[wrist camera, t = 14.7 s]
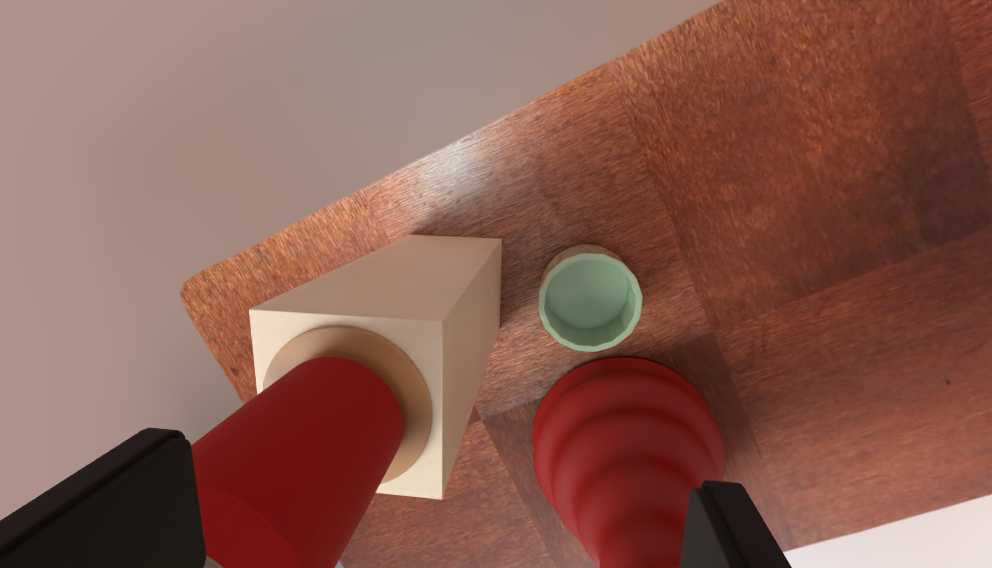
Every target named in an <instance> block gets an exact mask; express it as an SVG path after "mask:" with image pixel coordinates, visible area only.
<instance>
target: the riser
mask: <svg viewBox="0 0 992 568" xmlns="http://www.w3.org/2000/svg"><path fill="white" fill-rule="evenodd" d="M501 264H502V239H500V238H478V237H455V236H433V235H408V236H405V237H403V238H401V239H399V240H397V241H395V242H393V243H390V244H388V245H386V246H384V247H382V248H380V249H378V250H375V251H373V252H371V253H369V254H367V255H365V256H362V257H360V258H358V259H356V260H354V261H352V262H350V263H347V264H345V265H343V266H341V267H339V268H337V269H335V270H332V271H330V272H328V273H326V274H324V275H322V276H320V277H317V278H315V279H313V280H311V281H309V282H307V283H305V284H302V285H300V286H298V287H296V288H294V289H292V290H290V291H287V292H285V293H283V294H281V295H279V296H277V297H274V298H272V299H270V300H268V301H266V302H264V303H262V304H259V305H257V306H255V307H253V308H251V309H249V315H250V325H251V334H252V344H253V354H254V364H255V374H256V384H257V394H259V393H261V392H262V390H263V382H264V378H265V375H266V372H267V369H268V367H269V365H270V363H271V361H272V360H273V358H274V356H275V355H276V354H277V353H278V351H279V350H280V349H281V348H282V347H283V346H284V345H285V344H287V343H288V342H289V341H290V340H292V339H293V338H295V337H297V336H298V335H300V334H302V333H304V332H306V331H308V330H311V329H314V328H318V327H322V326H329V325H346V326H354V327H358V328H362V329H366V330H369V331H371V332H374V333H376V334H378V335H380V336H382V337H384V338H386V339H388V340H389V341H390V342H392V343H393V344H395V345H396V346H398V347H399V348H400V349H401V350H402V351H403V352H404V353H405V354H406V355H407V356H408V357H409V358H410V359H411V360H412V361H413V363H414V364H415V365H416V367H417V368H418V370H419V371H420V373H421V375H422V377H423V379H424V381H425V382H426V385H427V388H428V391H429V393H430V398H431V403H432V413H433V417H432V427H431V432H430V436H429V438H428V441H427V444H426V446H425V448H424V450H423V452H422V453H421V455H420V457H419V458H418V459H417V461H416V462H415V463H414V464H413V465H412V466H411V467H410V468H409V469H408V470H407V471H406V472H404V473H403V474H401V475H400V476H399V477H397V478H395V479H393V480H391V481H389V482H386V483H383V484H380V485H379V487H378V489H377V491H376V493H385V494H395V495H404V496H414V497H423V498H433V499H443V496H444V493H445V490H446V487H447V484H448V481H449V478H450V475H451V472H452V469H453V466H454V463H455V460H456V457H457V454H458V451H459V448H460V445H461V442H462V439H463V436H464V433H465V430H466V427H467V424H468V421H469V418H470V415H471V412H472V409H473V406H474V403H475V400H476V397H477V394H478V391H479V388H480V385H481V382H482V379H483V376H484V373H485V370H486V368H487V365H488V362H489V359H490V356H491V353H492V350H493V347H494V344H495V341H496V338H497V335H498V332H499V329H500V296H501Z"/></svg>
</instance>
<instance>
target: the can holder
mask: <svg viewBox="0 0 992 568" xmlns="http://www.w3.org/2000/svg"><path fill="white" fill-rule="evenodd" d="M642 299H643V297H642V293H641V290H640V287H639V284H638V281H637V278H636V277H635V275H634V274H633V273H632V271H631V270H630V269H629V267H628V266H627V265H626V264H625V263H624V262H623V260H622V259H621V258H620V257H619V256H618V255H617V254H616V253H614V252H612V251H610V250H609V249H607V248H604V247H601V246H597V245H590V244H583V245H577V246H573V247H570V248H568V249H565V250H564V251H562V252H560V253H559V254H558V255H556V256H555V257H554V258H553V259H552V260H551V261H550V262H549V264H548V265H547V267H546V269H545V270H544V273H543V275H542V277H541V280H540V288H539V303H538V311H539V314H540V317H541V319H542V322H543V325H544V327H545V329H546V330H547V331H548V332H549V333H550V334H551V335H552V336H553V337H554V338H555V340H556V341H557V342H559V343H561V344H563V345H565V346H567V347H569V348H572V349H574V350H576V351H590V352H597V351H600V350H604V349H607V348H610V347H614V346H616V345H617V344H618V343H620V342H621V341H622V340H624V339H625V338H626V337H627V336H629V335H630V334H631V333H632V331H633V329H634V327H635V326H636V324H637V322H638V320H639V319H640V316H641V309H642Z"/></svg>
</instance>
